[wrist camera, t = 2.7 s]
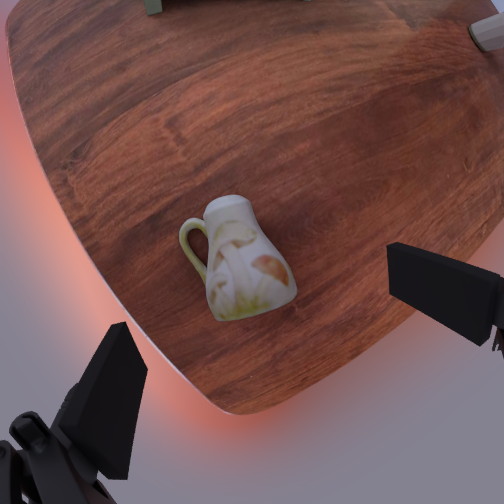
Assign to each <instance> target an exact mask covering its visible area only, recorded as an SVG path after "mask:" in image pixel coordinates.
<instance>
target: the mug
mask: <svg viewBox="0 0 504 504" xmlns="http://www.w3.org/2000/svg"><path fill="white" fill-rule="evenodd" d="M203 219H204V221H203V220H201V219H198V218H190V219H188V220H187V221H186V222H185V223H184V224H183V225H182V227H181V229H180V232H179V241H180V244H181V247H182V249H183V251H184V253H185V255H186V256H187V257H188V259H189V260H190V261H191V263H192V264H193V265H194V267H195V269H196V270H197V271H198V273H199V274H200V276H201V278H202V280H203V282H204V284H205V286H206V297H207V301H208V305H209V307H210V310H211V312H212V314H213V316H214V318H215V319H216V320H217V321H232V320H238V319H243V318H247V317H251V316H255V315H258V314H262V313H265V312H268V311H271V310H273V309H276V308H279V307H281V306H283V305H285V304H287V303H289V302H291V301H292V300H293V299H294V298H295V296H296V294H297V287H296V283H295V278H294V275H293V272H292V270H291V268H290V267H289V265H288V264H287V262H286V261H285V259H284V258H283V257H282V255H281V254H280V253H279V252H278V250H277V249H276V248H275V247H274V246H273V244H272V243H271V242H270V241H269V239H268V238H267V237H266V236H265V234H264V233H263V232H262V230H261V228H260V227H259V225H258V223H257V220H256V217H255V215H254V212H253V208H252V205H251V202H250V201H249V200H247V199H245V198H244V197H242V196H240V195H228V196H223V197H220V198H217V199H215V200H213V201H212V202H210V203H209V204H208V206H207V207H206V210H205V212H204V214H203ZM194 228H198V229H200V230H201V231H202V232H203V233H204V235H205V236H206V237H207V238H208V241H209V253H208V265H207V267H206V266H205V265H204V264H203V263H202V262H201V261H200V260H199V259H198V257H197V256H196V255H195V254H194V252H193V251H192V249H191V247H190V245H189V243H188V239H187V235H188V233H189V231H190V230H192V229H194Z"/></svg>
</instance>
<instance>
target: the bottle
mask: <svg viewBox="0 0 504 504" xmlns="http://www.w3.org/2000/svg"><path fill="white" fill-rule="evenodd" d="M469 31H470V33H471V36H472V38H473V40H474V41H475V43H476V44H477V45H478V46H479V48H480V49H481V50H483V51H490V50H494V49H498V48H503V47H504V12H502V13H500V14H497V15H494V16H492V17H489V18H486V19H484V20H481V21H479V22H477V23H474V24H472V25H470V26H469Z"/></svg>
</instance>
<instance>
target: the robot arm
mask: <svg viewBox="0 0 504 504" xmlns="http://www.w3.org/2000/svg"><path fill="white" fill-rule="evenodd" d="M386 247H387V259H388V273H389V294H391V295H392V296H394V297H396V298H398V299H399V300H401V301H403V302H405V303H407V304H408V305H410V306H412V307H414V308H415V309H417V310H419V311H421V312H422V313H424V314H426V315H428V316H429V317H431V318H433V319H434V320H436V321H438V322H440V323H441V324H443V325H445V326H446V327H448V328H450V329H451V330H453V331H455V332H457V333H458V334H460V335H462V336H463V337H465V338H467V339H468V340H470V341H472V342H473V343H475V344H476V345H478V346H481V345H482V344H483V343H484V342H486V341H487V340H488V339H489V338H490V334H491V329H492V325H495V326H497V331H496V335H495V339H494V343H493V347H492V351H495V347H496V345H497V344H499V346H498V350H501V351H502V354H503V358H504V278H503V277H500V275H499V274H496V273H493V272H491V271H488V270H485V269H482V268H479V267H476V266H473V265H470V264H467V263H464V262H461V261H458V260H455V259H452V258H449V257H446V256H442V255H439V254H436V253H433V252H430V251H426V250H423V249H420V248H416V247H413V246H409V245H406V244H403V243H399V242H395V243H393V244H390V245H387V246H386ZM147 371H148V369H147V366H146V365H145V363H144V361H143V359H142V357H141V354H140V352H139V351H138V348H137V346H136V344H135V342H134V340H133V337H132V335H131V333H130V331H129V328H128V326H127V324H126V322H121V323H117V324H112V325H111V326H110V328H109V330H108V331H107V333H106V335H105V336H104V338H103V340H102V341H101V343H100V345H99V347H98V349H97V350H96V352H95V354H94V355H93V357H92V359H91V361H90V363H89V365H88V366H87V368H86V370H85V372H84V374H83V375H82V377H81V379H80V381H79V383H76V384H75V385H74V386H73V387H72V388H71V389H70V391H69V392H68V394H67V396H66V397H65V399H64V400H65V402H63V403H62V405H61V409H59V411H58V413H57V415H56V417H55V419H54V421H53V423H52V425H51V428H50V429H49V428H48V427H47V426H46V424H45V423H44V422H43V420H42V419H41V418H40V417H39V415H38V414H37V413H35V412H33V411H30V412H25V413H23V414H21V415H19V416H18V417H17V418H16V419H15V420H14V421H13V422H12V424H11V426H10V428H9V433H10V435H11V436H12V437H13V438H14V439H15V440H16V441H17V443H18V444H19V445H20V446H21V447H22V448H23V449H22V450H15V449H14V447H13V446H12V445H11V444H10V443H9V442H8V441H6V440H2V441H0V504H27V503H26V502H25V501H23V500H22V494H24V495H25V496H26V497H27V498H28V499H29V504H117V503H116V502H115V501H114V499H113V498H112V497H111V495H110V494H109V492H108V491H107V490H106V488H105V487H104V485H103V484H102V483H101V482H100V481H99V480H98V479H97V473H98V470H99V471H100V472H101V473H102V474H103V475H104V476H105V477H106V478H108V479H113V480H127V479H128V472H129V465H130V458H131V452H132V446H133V439H134V433H135V428H136V423H137V418H138V412H139V408H140V403H141V398H142V393H143V389H144V384H145V380H146V376H147Z"/></svg>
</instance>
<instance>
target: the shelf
mask: <svg viewBox="0 0 504 504" xmlns="http://www.w3.org/2000/svg"><path fill="white" fill-rule="evenodd" d="M305 1H311V0H305ZM144 4H145V8H146V12H147V16H148V15H152V14H156V13H160V12H163V11H162V4H161V0H144Z"/></svg>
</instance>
